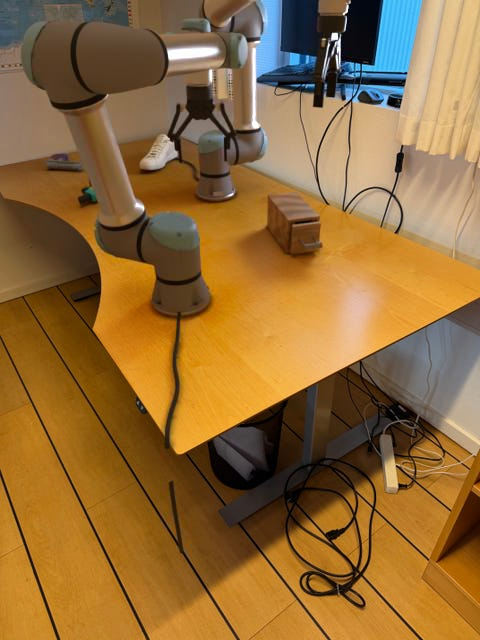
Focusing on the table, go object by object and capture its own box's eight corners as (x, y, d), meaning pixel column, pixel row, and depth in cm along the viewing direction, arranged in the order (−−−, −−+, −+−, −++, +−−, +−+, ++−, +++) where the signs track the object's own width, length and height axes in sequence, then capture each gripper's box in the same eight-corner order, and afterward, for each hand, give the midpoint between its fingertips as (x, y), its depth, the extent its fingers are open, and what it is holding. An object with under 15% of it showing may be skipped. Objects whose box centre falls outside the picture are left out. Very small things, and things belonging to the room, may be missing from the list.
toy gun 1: (94, 162, 221) (79, 173, 209) (58, 159, 224) (41, 170, 212) (93, 153, 219) (78, 164, 207) (56, 151, 222) (39, 161, 210)
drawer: (326, 260, 141) (329, 231, 136) (298, 264, 139) (300, 235, 134) (296, 225, 161) (298, 199, 156) (272, 228, 159) (272, 202, 154)
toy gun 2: (55, 191, 179) (85, 198, 173) (101, 171, 197) (130, 177, 192) (57, 202, 181) (87, 209, 176) (103, 182, 200) (131, 187, 194)
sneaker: (133, 173, 208) (129, 144, 201) (161, 153, 230) (158, 127, 223) (155, 175, 205) (151, 146, 198) (180, 155, 227) (178, 129, 220)
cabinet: (316, 249, 149) (319, 216, 142) (286, 253, 147) (288, 220, 140) (294, 222, 165) (296, 192, 158) (267, 226, 163) (267, 195, 156)
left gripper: (242, 80, 136) (243, 155, 148) (155, 82, 135) (163, 158, 147) (244, 85, 130) (244, 163, 142) (153, 87, 129) (161, 165, 141)
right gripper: (334, 18, 113) (325, 113, 126) (357, 11, 132) (347, 94, 144) (304, 17, 116) (298, 110, 129) (330, 10, 134) (323, 92, 147)
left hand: (203, 160), depth 145 cm, fingers open, 13 cm apart
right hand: (324, 102), depth 137 cm, fingers open, 13 cm apart
